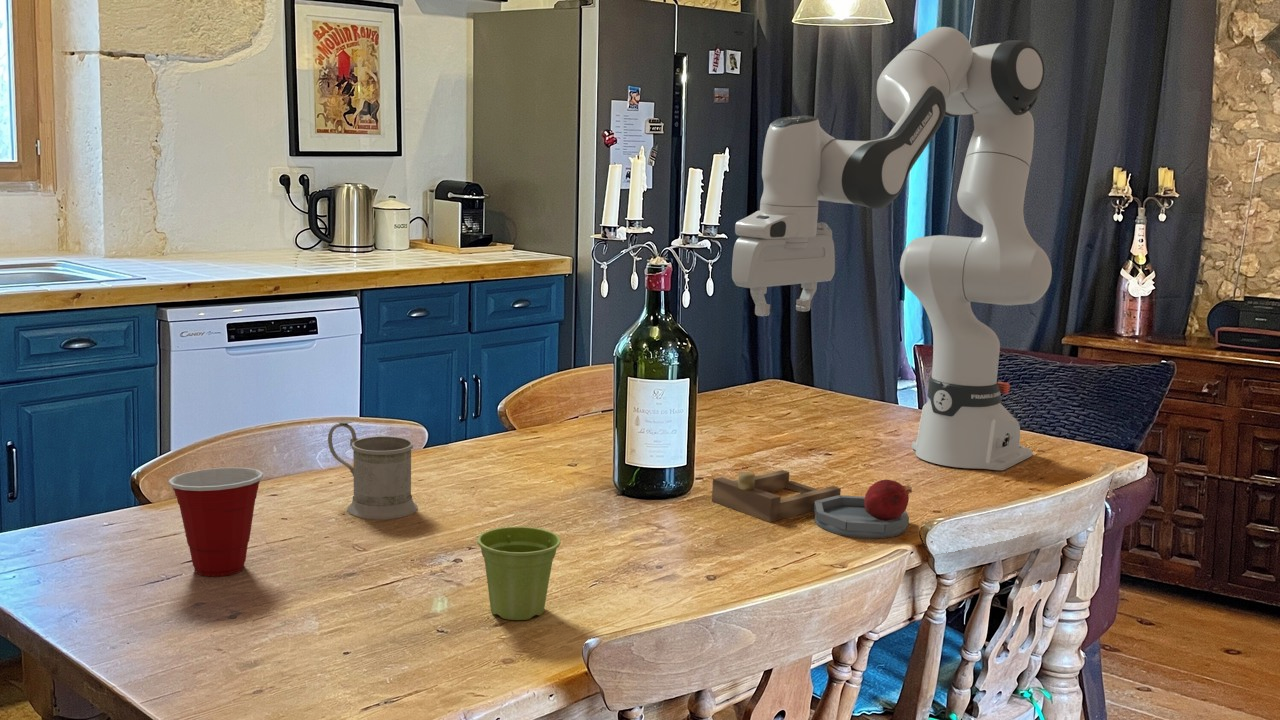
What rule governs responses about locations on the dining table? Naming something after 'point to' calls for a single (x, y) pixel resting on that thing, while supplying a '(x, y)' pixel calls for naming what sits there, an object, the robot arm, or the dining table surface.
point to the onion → (887, 499)
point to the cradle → (767, 495)
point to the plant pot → (518, 569)
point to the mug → (379, 475)
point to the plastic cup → (217, 516)
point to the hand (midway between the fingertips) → (782, 313)
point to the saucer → (855, 518)
